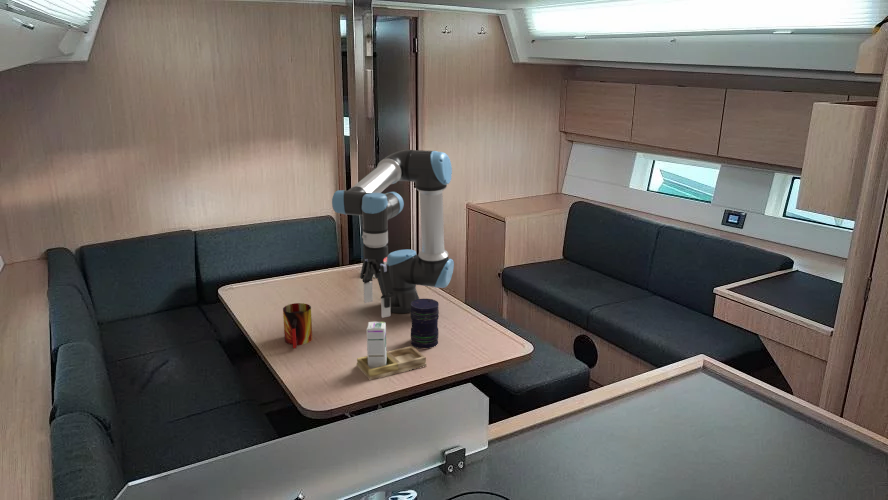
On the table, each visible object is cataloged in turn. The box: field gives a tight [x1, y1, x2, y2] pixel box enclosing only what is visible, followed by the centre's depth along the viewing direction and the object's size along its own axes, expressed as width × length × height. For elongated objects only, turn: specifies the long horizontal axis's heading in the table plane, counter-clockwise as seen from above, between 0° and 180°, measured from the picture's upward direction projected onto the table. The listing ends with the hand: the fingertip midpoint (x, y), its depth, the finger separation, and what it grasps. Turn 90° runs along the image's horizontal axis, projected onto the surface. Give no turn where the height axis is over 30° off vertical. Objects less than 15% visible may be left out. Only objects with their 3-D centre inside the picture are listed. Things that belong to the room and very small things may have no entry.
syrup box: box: [366, 321, 387, 369], centre depth 207 cm, size 6×6×14 cm
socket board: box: [356, 345, 427, 381], centre depth 211 cm, size 20×11×3 cm, turn 120°
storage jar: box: [410, 298, 440, 349], centre depth 227 cm, size 10×10×15 cm
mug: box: [282, 302, 313, 349], centre depth 227 cm, size 10×14×12 cm
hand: (376, 309), depth 203 cm, fingers open, 13 cm apart
